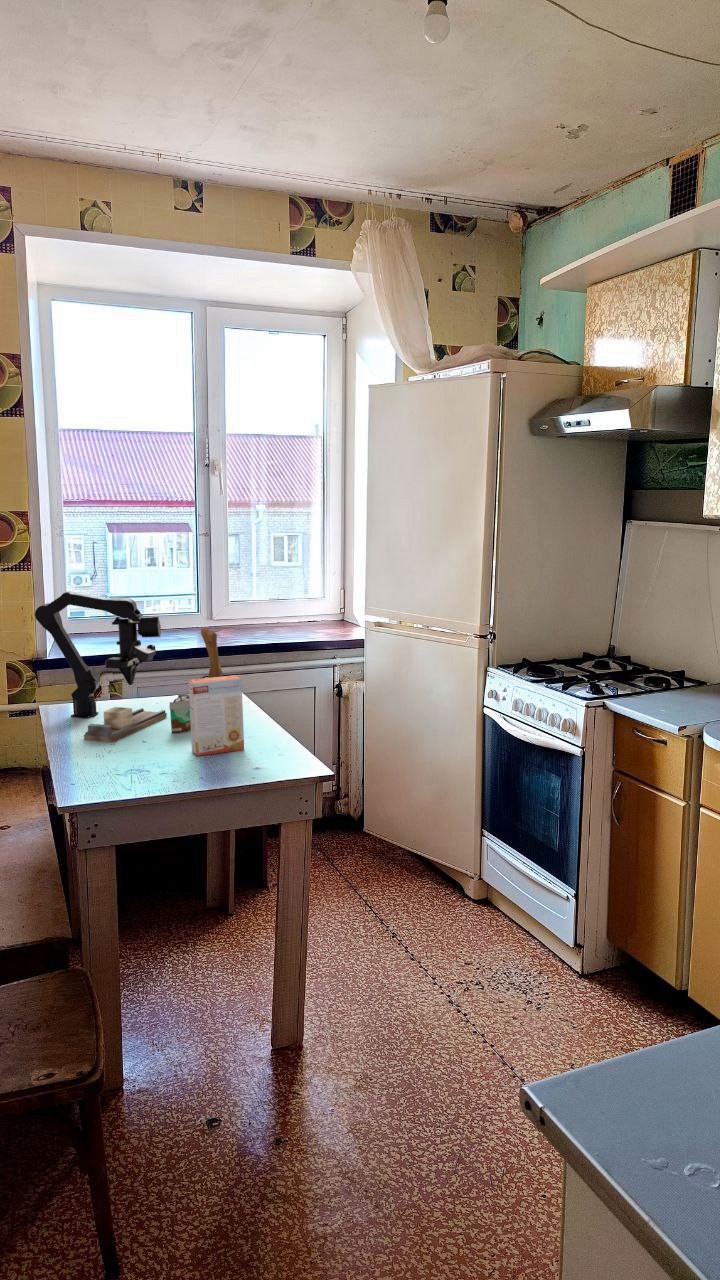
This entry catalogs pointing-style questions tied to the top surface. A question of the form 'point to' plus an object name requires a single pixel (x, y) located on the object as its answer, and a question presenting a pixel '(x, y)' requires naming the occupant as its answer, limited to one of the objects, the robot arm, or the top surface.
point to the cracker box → (216, 715)
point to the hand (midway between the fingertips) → (130, 684)
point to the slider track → (112, 735)
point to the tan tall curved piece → (212, 652)
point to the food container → (180, 714)
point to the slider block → (118, 717)
